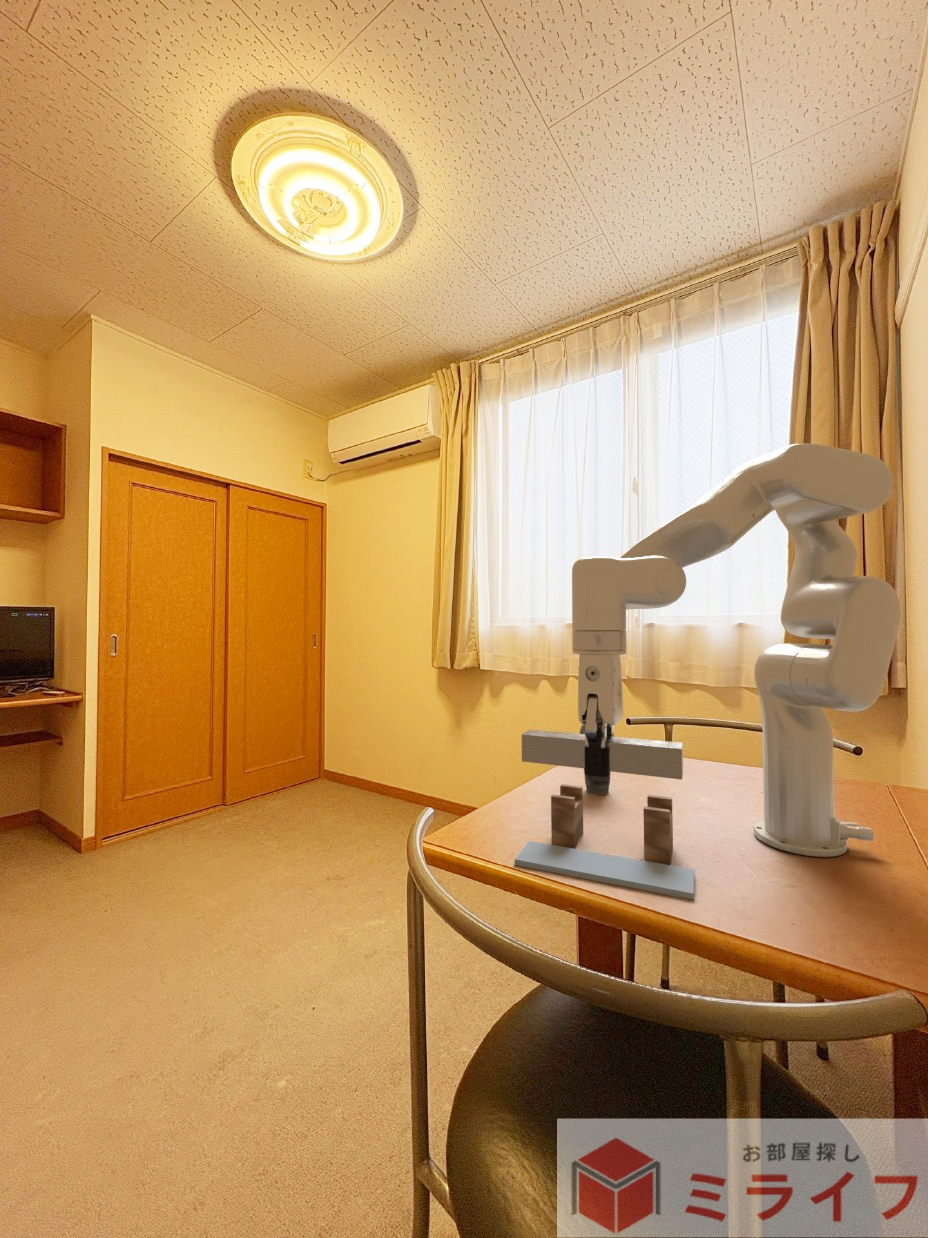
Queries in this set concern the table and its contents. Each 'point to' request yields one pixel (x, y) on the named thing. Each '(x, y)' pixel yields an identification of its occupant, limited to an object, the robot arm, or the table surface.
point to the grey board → (609, 869)
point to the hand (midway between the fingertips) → (599, 770)
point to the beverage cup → (596, 779)
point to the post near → (658, 830)
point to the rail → (622, 753)
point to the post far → (567, 816)
